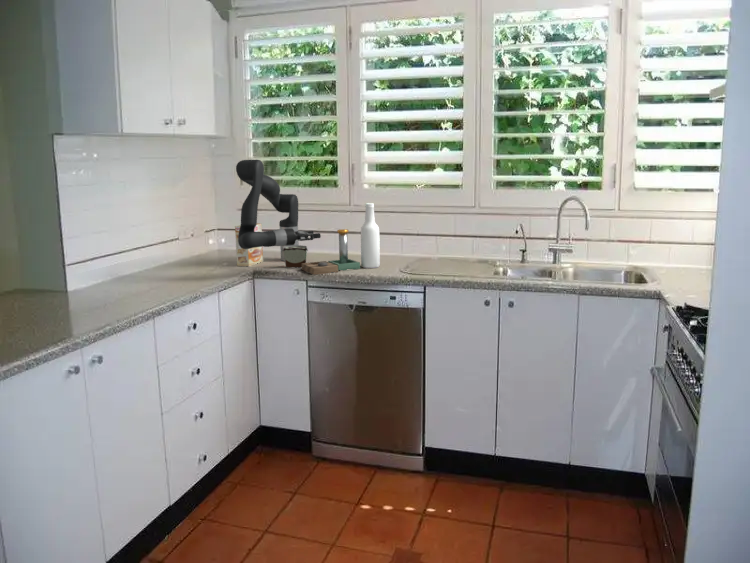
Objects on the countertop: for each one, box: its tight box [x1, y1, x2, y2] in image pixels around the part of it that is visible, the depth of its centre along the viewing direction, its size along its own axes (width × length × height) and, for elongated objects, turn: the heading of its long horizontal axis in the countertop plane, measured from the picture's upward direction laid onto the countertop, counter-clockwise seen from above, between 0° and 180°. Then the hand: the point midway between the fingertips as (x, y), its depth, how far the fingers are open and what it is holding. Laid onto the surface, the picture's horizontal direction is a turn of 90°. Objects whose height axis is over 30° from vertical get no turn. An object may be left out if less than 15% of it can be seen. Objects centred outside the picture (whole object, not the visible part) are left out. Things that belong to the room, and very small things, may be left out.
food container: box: [282, 244, 309, 269], centre depth 321 cm, size 12×6×10 cm, turn 84°
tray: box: [327, 258, 361, 271], centre depth 316 cm, size 12×11×3 cm
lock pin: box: [336, 228, 350, 264], centre depth 315 cm, size 5×5×17 cm
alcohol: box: [360, 202, 381, 269], centre depth 315 cm, size 9×9×30 cm
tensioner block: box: [301, 260, 339, 275], centre depth 309 cm, size 15×12×4 cm
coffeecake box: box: [234, 222, 264, 267], centre depth 330 cm, size 15×7×20 cm, turn 161°
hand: (316, 234), depth 310 cm, fingers open, 8 cm apart
